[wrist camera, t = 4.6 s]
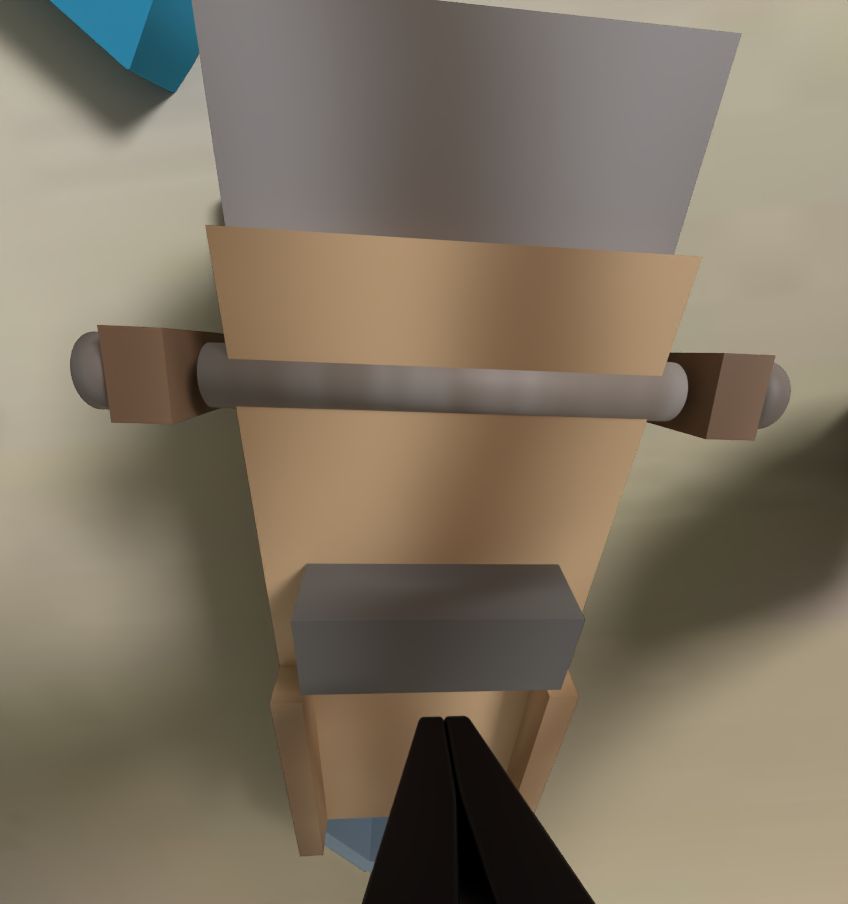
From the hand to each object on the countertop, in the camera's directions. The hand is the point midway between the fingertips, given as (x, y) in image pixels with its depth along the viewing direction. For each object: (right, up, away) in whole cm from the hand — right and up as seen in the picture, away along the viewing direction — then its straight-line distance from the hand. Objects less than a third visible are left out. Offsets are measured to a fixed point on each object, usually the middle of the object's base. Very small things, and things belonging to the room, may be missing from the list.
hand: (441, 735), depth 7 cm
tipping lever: (0, +4, +8) cm, 9 cm away
